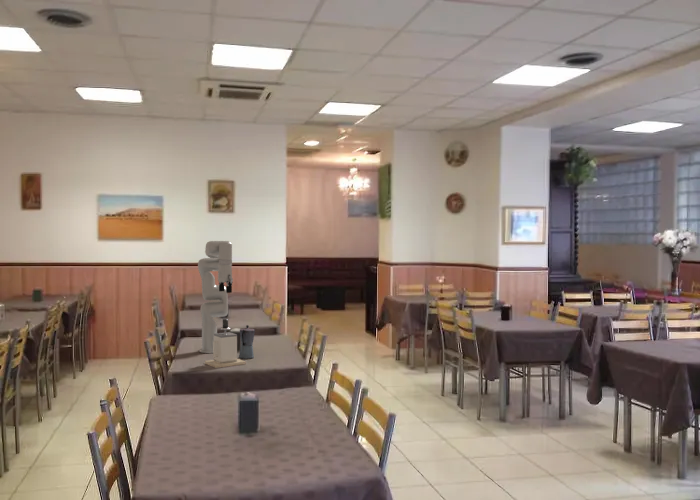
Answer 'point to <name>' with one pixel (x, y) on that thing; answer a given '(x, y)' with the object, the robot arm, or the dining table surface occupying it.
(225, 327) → the plunger
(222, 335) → the white box
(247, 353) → the moka pot
